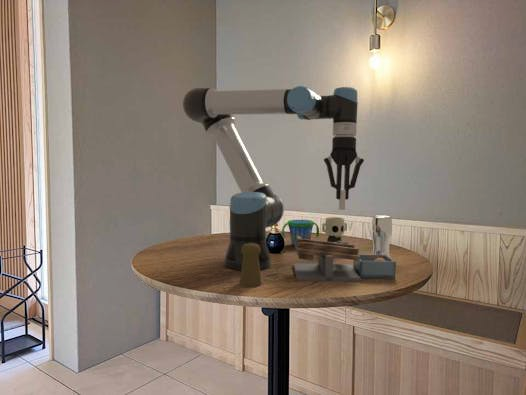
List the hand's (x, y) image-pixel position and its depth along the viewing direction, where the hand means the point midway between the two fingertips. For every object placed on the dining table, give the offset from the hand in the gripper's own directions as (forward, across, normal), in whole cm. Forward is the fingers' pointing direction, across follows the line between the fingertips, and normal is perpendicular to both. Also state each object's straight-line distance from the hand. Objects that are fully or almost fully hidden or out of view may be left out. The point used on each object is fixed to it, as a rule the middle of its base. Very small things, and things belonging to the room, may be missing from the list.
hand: (341, 209), depth 129 cm
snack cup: (+19, -11, +33) cm, 39 cm away
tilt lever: (+14, -7, -7) cm, 17 cm away
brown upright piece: (+19, -28, -23) cm, 41 cm away
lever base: (+18, -6, -11) cm, 23 cm away
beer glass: (+19, +16, +11) cm, 27 cm away
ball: (+15, +10, -11) cm, 21 cm away
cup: (+18, +8, -11) cm, 23 cm away
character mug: (+19, +1, +21) cm, 28 cm away
